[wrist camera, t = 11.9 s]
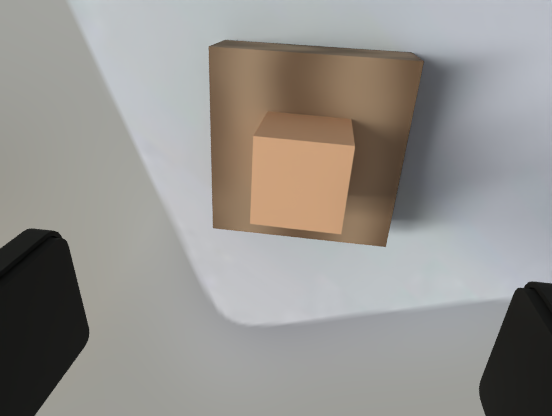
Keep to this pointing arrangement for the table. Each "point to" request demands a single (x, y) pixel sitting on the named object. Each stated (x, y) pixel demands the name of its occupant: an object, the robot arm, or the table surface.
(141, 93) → the table surface
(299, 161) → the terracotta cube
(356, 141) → the walnut base
